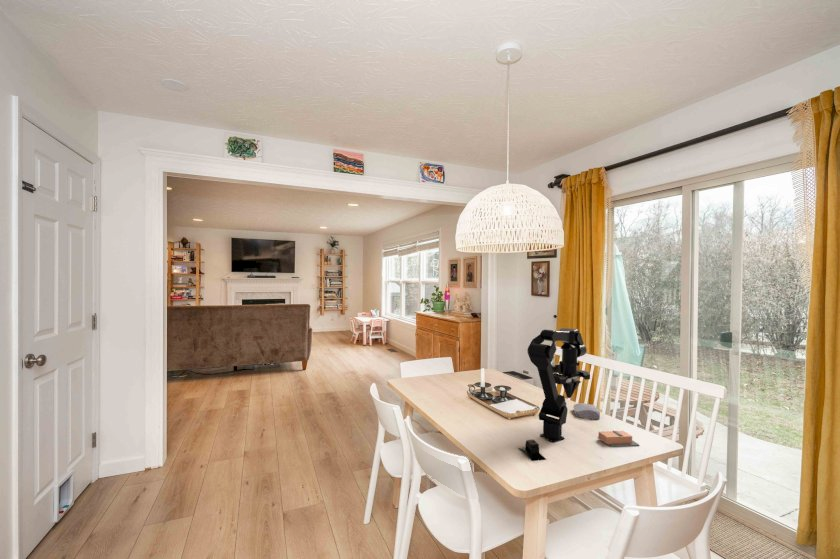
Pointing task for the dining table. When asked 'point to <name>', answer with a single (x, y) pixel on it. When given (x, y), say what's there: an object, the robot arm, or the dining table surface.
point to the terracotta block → (615, 437)
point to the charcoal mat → (623, 444)
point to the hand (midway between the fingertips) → (568, 397)
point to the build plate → (532, 450)
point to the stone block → (586, 411)
